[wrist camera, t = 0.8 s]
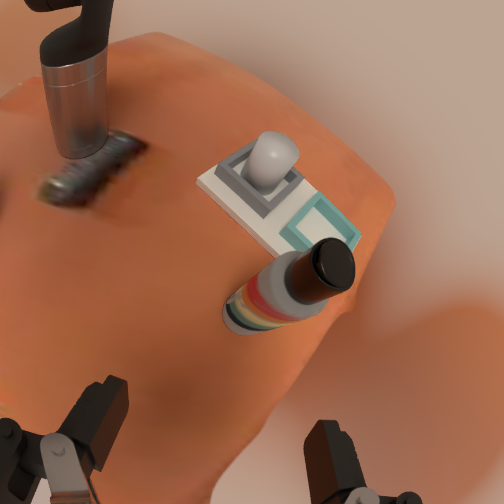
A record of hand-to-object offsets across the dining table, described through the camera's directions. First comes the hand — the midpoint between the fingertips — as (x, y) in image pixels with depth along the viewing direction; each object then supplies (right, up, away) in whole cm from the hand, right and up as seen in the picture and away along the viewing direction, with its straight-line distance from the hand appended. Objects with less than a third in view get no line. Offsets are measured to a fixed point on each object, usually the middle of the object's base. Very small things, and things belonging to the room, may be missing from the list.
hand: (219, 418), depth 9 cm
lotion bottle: (0, -1, +25) cm, 25 cm away
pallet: (+6, +13, +33) cm, 36 cm away
